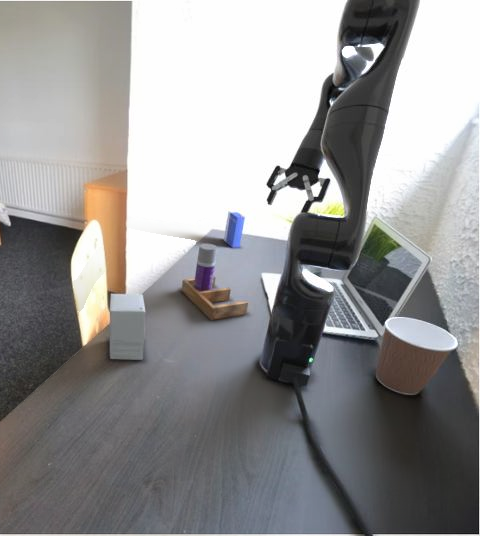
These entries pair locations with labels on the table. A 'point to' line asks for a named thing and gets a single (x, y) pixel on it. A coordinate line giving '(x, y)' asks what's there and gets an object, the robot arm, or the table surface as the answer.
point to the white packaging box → (127, 326)
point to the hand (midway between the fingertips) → (285, 209)
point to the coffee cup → (411, 354)
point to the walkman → (234, 229)
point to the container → (205, 267)
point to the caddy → (213, 300)
